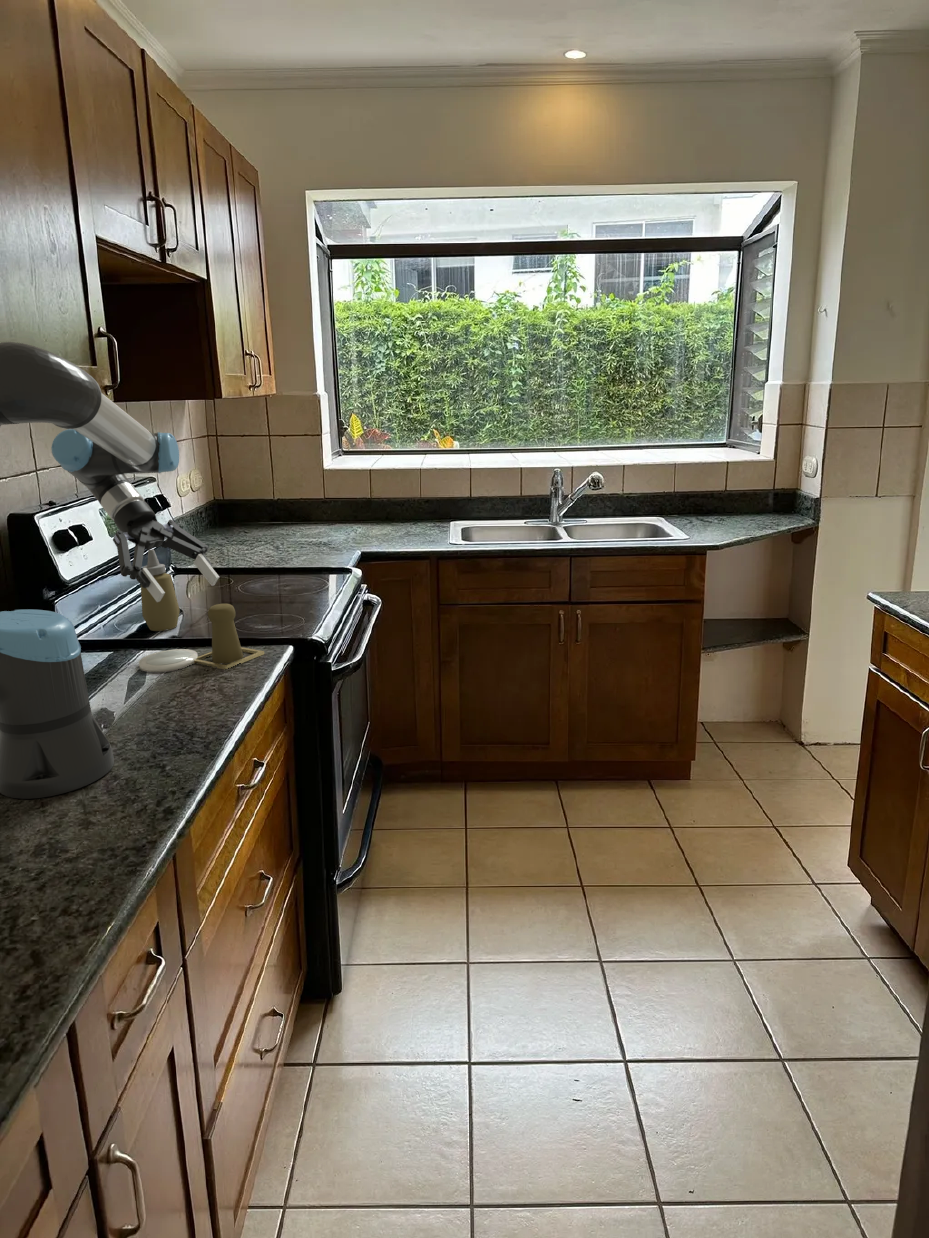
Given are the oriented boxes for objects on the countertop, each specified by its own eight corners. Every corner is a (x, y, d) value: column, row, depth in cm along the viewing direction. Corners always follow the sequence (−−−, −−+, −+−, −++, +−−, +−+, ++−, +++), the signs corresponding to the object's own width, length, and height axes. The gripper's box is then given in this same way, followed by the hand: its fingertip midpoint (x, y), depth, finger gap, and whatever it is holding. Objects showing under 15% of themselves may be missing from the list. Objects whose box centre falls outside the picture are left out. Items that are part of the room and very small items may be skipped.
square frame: (225, 669, 158) (225, 666, 158) (190, 662, 164) (190, 659, 164) (264, 654, 166) (264, 651, 166) (229, 647, 172) (229, 644, 172)
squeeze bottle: (158, 635, 183) (145, 555, 178) (137, 630, 188) (124, 552, 183) (189, 625, 189) (177, 548, 184) (168, 621, 194) (156, 545, 189)
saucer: (164, 675, 157) (163, 670, 157) (127, 667, 163) (126, 662, 162) (209, 658, 166) (209, 652, 165) (173, 651, 172) (172, 645, 171)
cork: (247, 653, 168) (240, 600, 165) (237, 663, 162) (229, 608, 159) (218, 653, 168) (211, 601, 165) (207, 663, 163) (199, 609, 159)
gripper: (172, 513, 182) (229, 586, 179) (68, 534, 162) (129, 616, 159) (185, 490, 178) (243, 564, 175) (79, 508, 158) (142, 592, 155)
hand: (189, 589), depth 167 cm, fingers open, 13 cm apart
